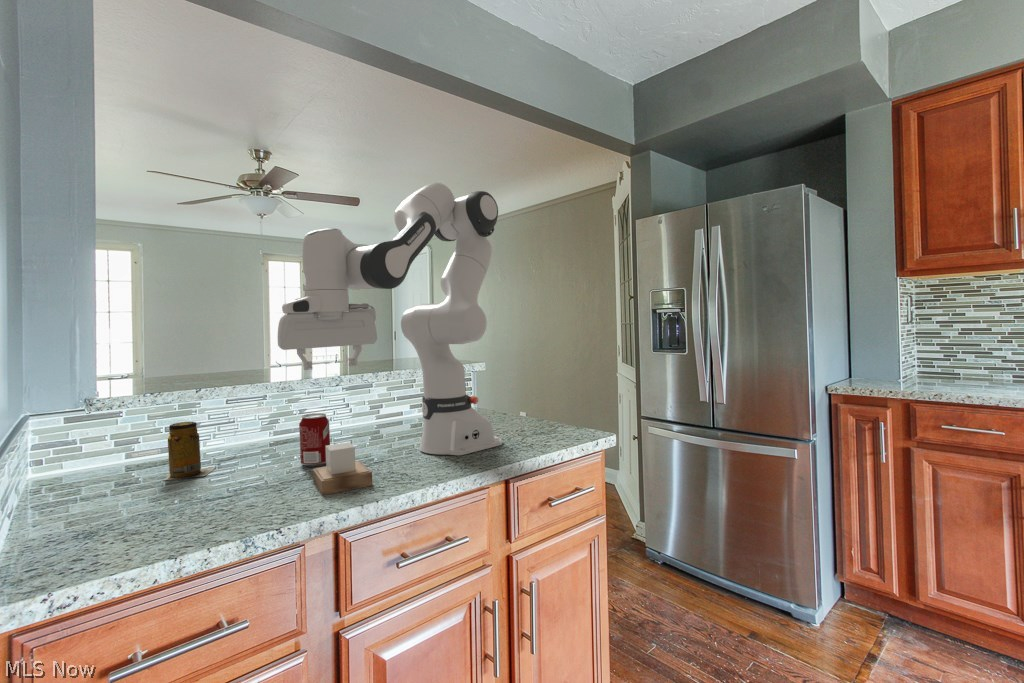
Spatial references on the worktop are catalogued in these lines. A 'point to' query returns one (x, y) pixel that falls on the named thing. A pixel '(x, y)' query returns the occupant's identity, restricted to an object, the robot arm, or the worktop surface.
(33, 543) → the worktop surface
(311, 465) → the soda can
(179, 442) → the condiment
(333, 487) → the plinth
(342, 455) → the cube
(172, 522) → the worktop surface
